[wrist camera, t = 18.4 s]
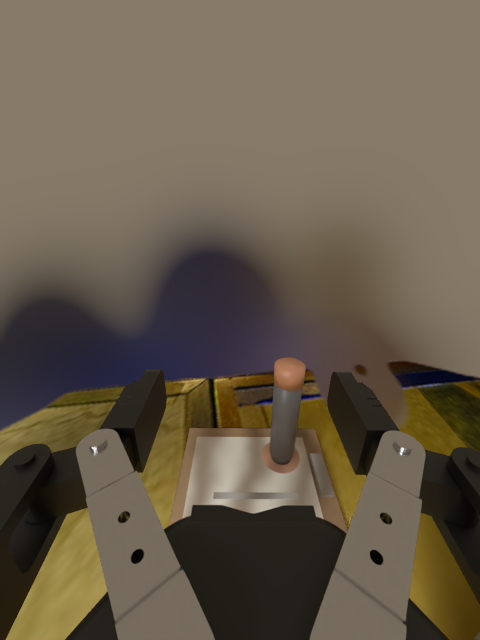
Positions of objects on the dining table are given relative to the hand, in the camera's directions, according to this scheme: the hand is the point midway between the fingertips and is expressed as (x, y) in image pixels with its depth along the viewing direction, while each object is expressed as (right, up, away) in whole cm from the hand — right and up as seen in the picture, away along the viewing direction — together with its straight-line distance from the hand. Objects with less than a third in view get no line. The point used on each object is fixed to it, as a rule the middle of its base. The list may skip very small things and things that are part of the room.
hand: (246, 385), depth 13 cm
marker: (+6, -17, +28) cm, 33 cm away
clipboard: (+2, -19, +25) cm, 32 cm away
